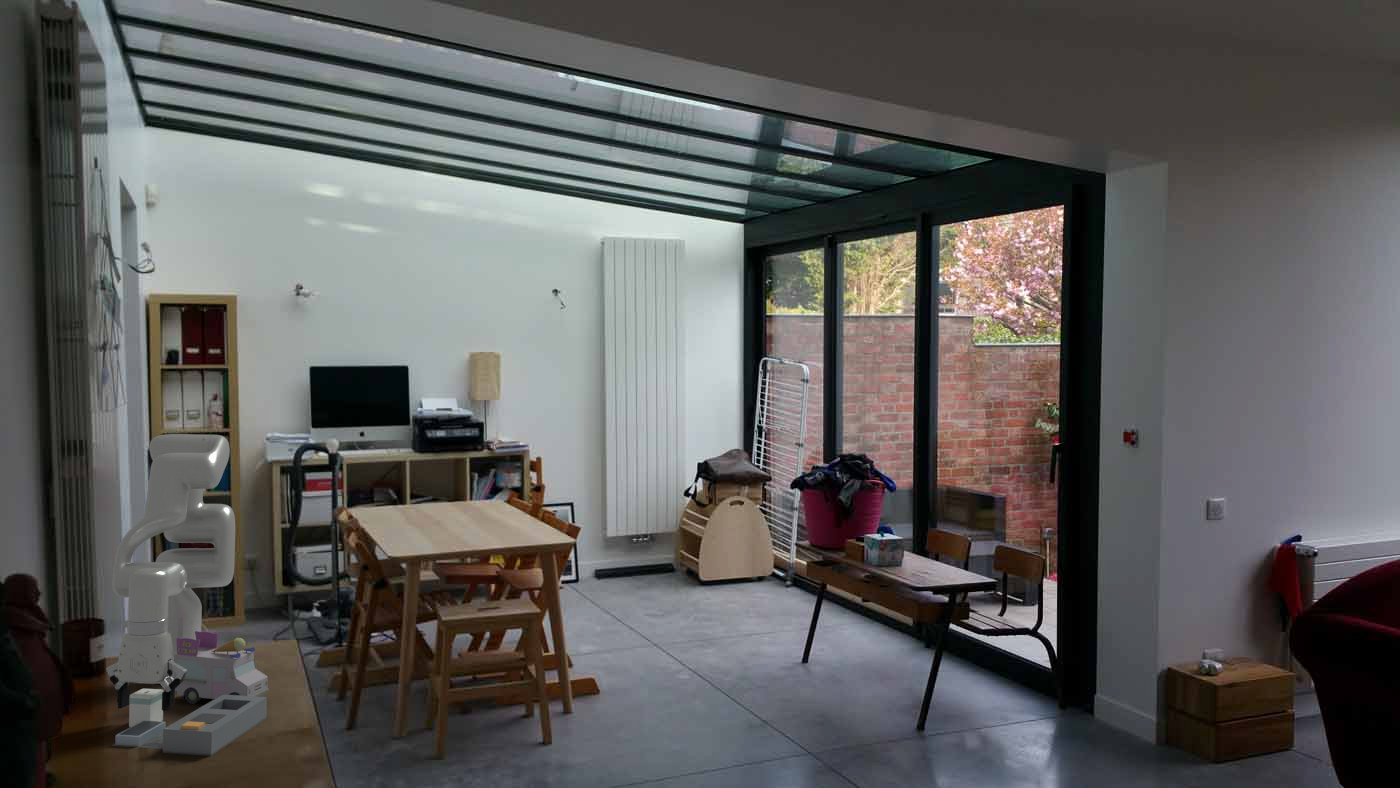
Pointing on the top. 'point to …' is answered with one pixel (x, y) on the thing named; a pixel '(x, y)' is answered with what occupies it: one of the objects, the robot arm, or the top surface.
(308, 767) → the top surface
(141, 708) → the charger
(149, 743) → the mat
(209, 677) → the toy vehicle
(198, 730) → the grey compartment tray
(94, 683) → the top surface
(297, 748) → the top surface
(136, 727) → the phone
